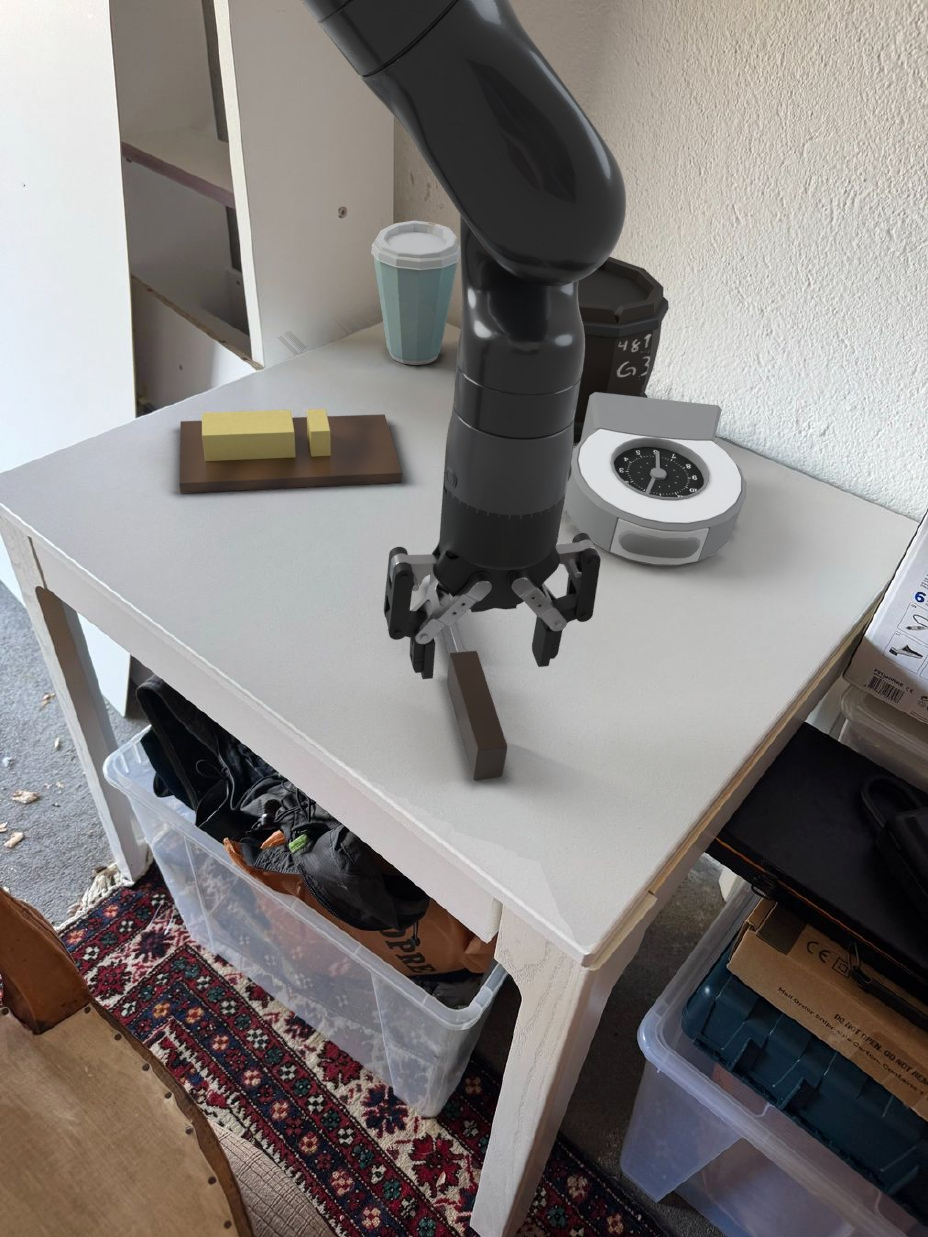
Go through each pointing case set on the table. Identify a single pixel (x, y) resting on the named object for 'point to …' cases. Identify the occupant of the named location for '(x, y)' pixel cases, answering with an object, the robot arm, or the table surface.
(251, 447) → the butter stick
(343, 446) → the board
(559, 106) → the robot arm
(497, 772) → the knife
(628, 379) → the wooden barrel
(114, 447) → the table surface
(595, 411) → the alarm clock
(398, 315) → the disposable coffee cup
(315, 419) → the butter pat
